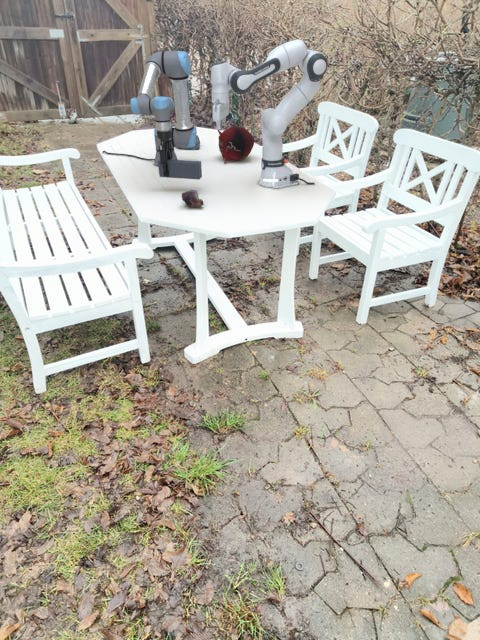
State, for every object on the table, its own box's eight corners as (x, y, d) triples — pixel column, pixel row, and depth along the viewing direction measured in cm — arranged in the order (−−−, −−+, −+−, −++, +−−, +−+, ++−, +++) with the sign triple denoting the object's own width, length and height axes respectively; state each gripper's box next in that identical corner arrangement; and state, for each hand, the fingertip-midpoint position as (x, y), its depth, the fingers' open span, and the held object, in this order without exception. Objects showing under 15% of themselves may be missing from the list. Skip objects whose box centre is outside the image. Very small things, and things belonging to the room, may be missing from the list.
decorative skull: (215, 132, 306) (215, 129, 282) (249, 124, 305) (251, 121, 281) (222, 164, 313) (222, 164, 289) (255, 157, 312) (258, 156, 288)
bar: (159, 176, 246) (157, 161, 241) (162, 174, 249) (160, 158, 244) (199, 179, 241) (198, 163, 237) (201, 176, 245) (201, 161, 240)
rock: (197, 203, 236) (179, 206, 232) (195, 186, 232) (177, 189, 228) (206, 207, 226) (187, 210, 222) (204, 189, 223) (185, 192, 219)
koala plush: (200, 149, 323) (198, 120, 312) (175, 150, 322) (172, 121, 311) (200, 144, 337) (198, 115, 326) (176, 144, 336) (173, 116, 325)
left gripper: (164, 134, 225) (169, 180, 239) (176, 126, 239) (180, 170, 253) (150, 133, 226) (155, 179, 240) (162, 125, 240) (167, 169, 254)
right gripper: (221, 102, 217) (222, 132, 225) (231, 95, 234) (231, 123, 241) (208, 101, 218) (210, 131, 226) (219, 95, 235) (220, 123, 243)
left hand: (168, 174), depth 246 cm, fingers closed on bar, 5 cm apart
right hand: (221, 127), depth 234 cm, fingers open, 8 cm apart
